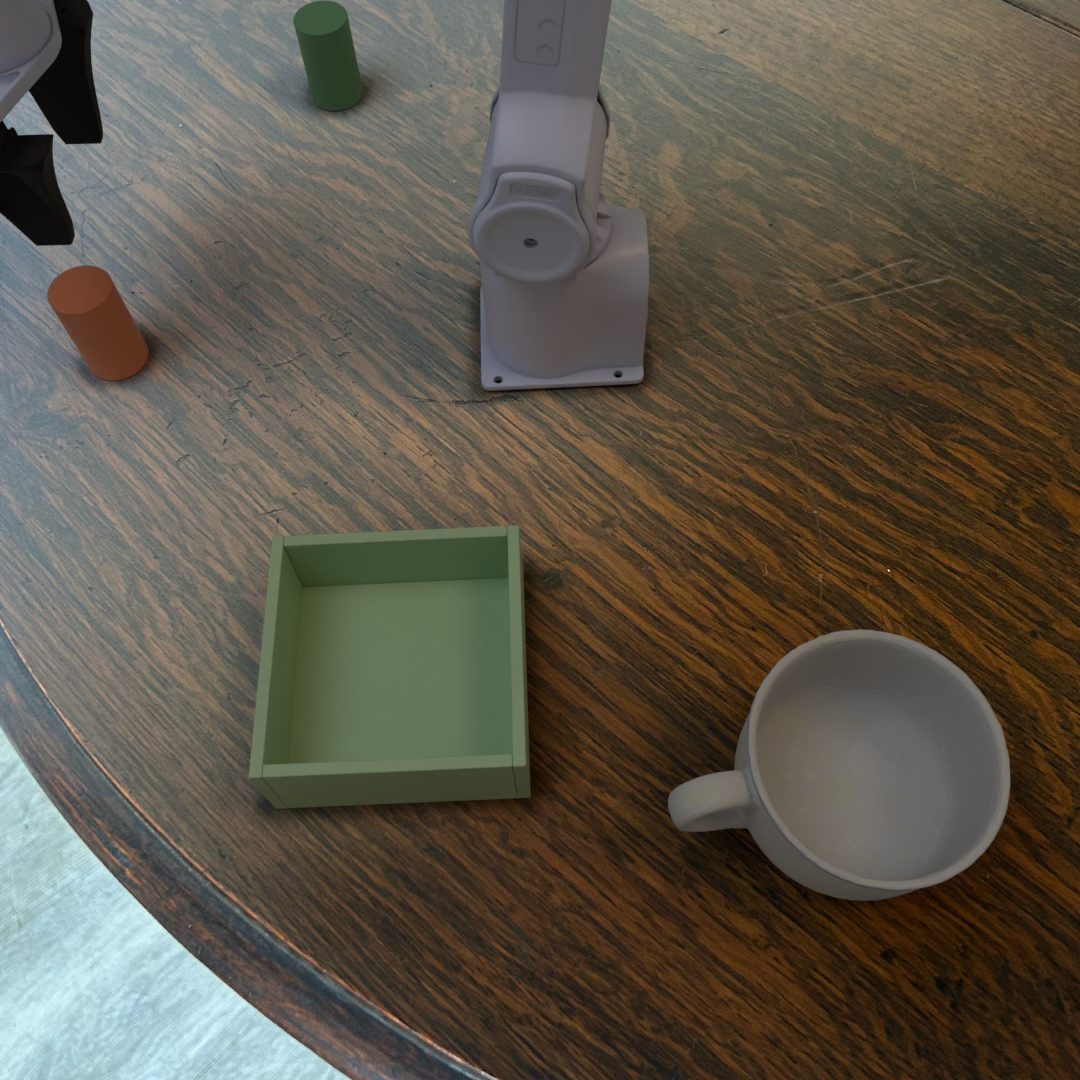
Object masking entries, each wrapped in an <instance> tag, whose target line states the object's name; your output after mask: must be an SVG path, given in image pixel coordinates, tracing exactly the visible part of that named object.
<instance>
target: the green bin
mask: <svg viewBox="0 0 1080 1080" xmlns="http://www.w3.org/2000/svg"><path fill="white" fill-rule="evenodd" d="M523 564H524V563H523V552H522V541H521V530H520V525H518V524H513V525H512V524H511V525H494V526H493V525H490V526H472V527H471V526H470V527H467V526H466V527H449V528H448V527H445V528H426V529H425V528H424V529H406V530H404V529H403V530H383V531H382V530H381V531H362V532H361V531H359V532H358V531H357V532H339V533H318V534H317V533H316V534H313V533H312V534H296V535H294V534H293V535H292V534H291V535H273V536H272V537H271V546H270V555H269V566H268V575H267V583H266V596H265V605H264V616H263V626H262V636H261V647H260V655H259V657H260V658H259V665H258V666H259V667H258V677H257V684H256V685H257V686H256V697H255V707H254V716H253V726H252V727H253V728H252V737H251V747H250V755H249V756H250V758H249V767H248V779H249V780H250V781H251V782H252V784H253V785H254V786H255V787H256V788H257V789H258V790H259V791H260V793H261V794H262V795H263V796H264V797H265V799H267V801H268V802H269V803H270V804H271V805H272V806H273V807H274V809H276V810H280V809H281V810H282V809H301V808H302V809H306V808H327V807H328V808H329V807H349V806H350V807H351V806H352V807H353V806H371V805H373V806H374V805H396V804H399V805H400V804H419V803H420V804H421V803H442V802H443V803H444V802H464V801H486V800H487V801H488V800H511V799H530V798H531V797H532V796H531V794H532V793H531V765H530V763H531V761H530V735H529V730H530V729H529V704H528V703H529V702H528V701H529V699H528V673H527V670H528V669H527V640H526V638H527V637H526V609H525V580H524V579H525V578H524V565H523Z"/></svg>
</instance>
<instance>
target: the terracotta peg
mask: <svg viewBox="0 0 1080 1080" xmlns="http://www.w3.org/2000/svg"><path fill="white" fill-rule="evenodd" d="M46 297H47V302H48V304H49V306H50V307H51V309H52V311H53V312H54V314H55V316H56V317H57V319H58V320H59V322H60V323H61V325H62V327H63V328H64V330H65V332H66V333H67V334H68V336H69V338H70V339H71V341H72V342H73V344H74V346H75V347H76V349H77V351H78V352H79V354H80V355H81V357H82V359H83V360H84V361H85V363H86V365H87V366H88V369H90V371H91V373H92V374H93V375H94V376H95V377H97V378H99V379H101V380H104V381H109V382H115V381H122V380H126V379H129V378H131V377H133V376H135V375H136V374H137V373H139V371H141V370H142V369H143V367H144V366H145V365H146V363H147V361H148V360H149V359H148V358H149V353H150V352H149V347H148V344H147V342H146V341H145V339H144V337H143V335H142V333H141V331H140V329H139V327H138V325H137V324H136V322H135V320H134V318H133V315H132V314H131V312H130V311H129V309H128V307H127V305H126V303H125V301H124V299H123V298H122V295H121V294H120V291H119V290H118V288H117V286H116V284H115V282H114V281H113V278H112V276H111V275H110V274H109V272H108V271H106V270H105V269H103V268H101V267H99V266H95V265H90V264H89V265H86V264H84V265H78V266H74V267H71V268H68V269H66V270H64V271H62V272H61V273H60V274H58V275H57V276H56V277H55V278H54V279H53V280H52V281H51V283H50V285H49V286H48V288H47V292H46Z"/></svg>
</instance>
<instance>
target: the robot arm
mask: <svg viewBox="0 0 1080 1080" xmlns="http://www.w3.org/2000/svg"><path fill="white" fill-rule="evenodd" d="M612 1H613V0H503V16H502V33H501V34H502V37H501V50H500V51H501V53H500V70H499V71H500V72H499V85H498V87H497V89H496V90H495V92H494V93H493V96H492V100H491V103H490V110H489V111H490V112H489V125H490V126H489V131H488V136H487V141H486V146H485V150H484V151H485V152H484V157H483V162H482V167H481V172H480V176H479V182H478V188H477V193H476V198H475V203H474V205H473V206H472V208H471V210H470V212H469V216H468V222H467V230H466V231H467V237H468V242H469V244H470V246H471V249H472V251H473V252H474V253H475V255H476V257H477V258H478V262H479V270H480V271H479V272H480V280H481V287H480V289H479V299H480V300H479V302H480V305H479V306H480V307H479V308H480V309H479V310H480V312H479V313H480V382H481V387H482V388H483V389H484V390H485V391H490V392H491V391H511V390H513V391H514V390H534V389H553V388H554V389H555V388H556V389H557V388H577V387H579V388H580V387H596V386H597V387H598V386H618V385H619V386H620V385H637V384H640V383H642V381H644V376H645V372H644V359H645V358H644V357H645V344H646V333H647V322H648V320H649V319H648V318H649V294H650V254H649V252H650V251H649V237H648V226H647V220H646V214H645V211H644V210H643V209H640V208H631V207H624V206H621V205H616V204H615V205H614V204H613V203H609V202H607V200H606V196H605V193H604V192H603V189H602V187H601V185H602V176H603V167H604V159H605V151H606V150H605V149H606V142H607V140H608V139H609V138H608V137H609V134H610V127H611V112H610V108H609V104H608V102H607V99H606V97H605V95H604V92H603V90H602V86H601V74H602V69H603V61H604V56H605V55H604V54H605V47H606V42H607V36H608V35H607V34H608V27H609V21H610V14H611V7H612ZM93 20H94V12H93V9H92V7H91V5H90V2H89V1H88V0H0V214H1V215H2V216H3V217H4V218H5V219H7V221H8V222H10V223H11V224H12V225H13V226H15V228H16V229H18V230H19V231H20V232H21V233H22V234H23V235H24V237H26V238H27V239H28V240H30V241H31V242H32V243H33V244H34V245H35V246H36V247H42V246H43V247H45V246H47V247H48V246H49V247H50V246H71V245H72V244H73V243H74V239H75V237H76V233H75V225H74V222H73V219H72V216H71V213H70V210H69V208H68V206H67V204H66V202H65V199H64V197H63V194H62V192H61V189H60V186H59V183H58V179H57V175H56V169H55V164H54V152H53V150H54V149H53V147H54V135H55V134H56V135H57V136H58V138H59V139H61V141H62V142H63V143H64V145H96V144H99V145H100V144H102V142H103V139H104V128H103V121H102V116H101V111H100V110H101V109H100V105H99V101H98V96H97V89H96V86H95V79H94V71H93V64H92V63H93V62H92V29H93ZM28 92H29V94H30V95H31V97H32V98H33V100H34V102H35V103H36V106H37V107H38V108H39V110H40V112H41V113H42V115H43V116H44V118H45V119H46V121H47V122H48V124H49V126H50V127H51V128H52V130H53V131H54V132H55V134H52V133H47V134H44V133H43V134H41V133H40V134H19V133H18V132H17V130H16V128H15V127H13V126H11V127H9V128H8V127H7V125H6V123H5V122H4V120H5V119H6V117H7V116H8V114H10V113H11V111H12V110H13V109H14V108H15V106H16V105H17V104H18V103H19V102H20V101H21V100H22V99H23V97H24V96H26V94H27V93H28ZM616 376H620V377H616ZM497 381H501V382H498V383H497Z"/></svg>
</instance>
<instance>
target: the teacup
mask: <svg viewBox="0 0 1080 1080" xmlns="http://www.w3.org/2000/svg"><path fill="white" fill-rule="evenodd" d="M735 749H736V751H735V756H734V767H733V770H727V771H726V770H725V771H719V772H713V773H709V774H704V775H700V776H698V777H695V778H693V779H690V780H687V781H685V782H683V783H682V784H679V785H678V786H676V787H675V788H674V789H673V790H672V791H671V792H670V793H669V795H668V798H667V810H668V812H669V815H670V818H671V821H672V822H673V824H674V825H675V827H676V828H677V829H679V830H680V831H683V832H686V833H702V832H703V833H704V832H711V831H712V832H713V831H721V830H728V829H739V830H740V829H746V830H748V831H749V834H750V835H751V837H752V838H753V840H754V841H755V843H756V844H757V846H758V847H759V849H760V850H761V851H762V854H764V855H765V856H766V858H767V859H768V860H769V861H770V862H771V863H772V864H773V865H774V866H775V867H776V868H778V869H779V870H780V872H782V873H784V874H785V875H786V876H787V877H789V878H790V879H792V880H793V881H794V882H796V883H798V884H800V885H801V886H803V887H806V888H807V889H810V890H812V891H814V892H816V893H819V894H822V895H825V896H828V897H833V898H836V899H840V900H847V901H858V902H859V901H861V902H866V901H869V902H870V901H871V902H872V901H881V900H886V899H891V898H896V897H899V896H903V895H907V894H909V893H912V892H914V891H918V890H920V889H926V888H928V887H929V888H930V887H932V886H937V885H940V884H943V883H945V882H946V881H948V880H950V879H952V878H955V877H956V876H958V875H959V874H961V873H963V872H964V871H965V870H967V869H968V868H969V867H971V866H972V865H973V864H974V863H976V862H977V860H978V859H979V858H980V857H982V856H983V855H984V853H986V851H987V850H988V849H989V847H990V845H991V844H992V843H993V841H994V840H995V838H996V837H997V834H998V833H999V831H1000V829H1001V827H1002V825H1003V822H1004V821H1005V820H1004V819H1005V817H1006V814H1007V811H1008V806H1009V801H1010V794H1011V793H1010V792H1011V784H1012V783H1011V782H1012V780H1011V767H1010V766H1011V763H1010V762H1011V761H1010V755H1009V750H1008V746H1007V741H1006V738H1005V734H1004V731H1003V728H1002V725H1001V724H1000V722H999V720H998V717H997V716H996V714H995V711H994V709H993V708H992V706H991V705H990V703H989V701H988V700H987V698H986V697H985V695H984V694H983V692H982V691H981V689H979V688H978V686H977V685H976V684H975V683H974V682H973V680H972V679H971V678H970V677H969V675H967V673H966V672H964V671H963V670H962V669H961V668H960V667H959V666H958V665H956V664H955V663H954V662H952V661H951V660H949V659H948V658H947V657H946V656H944V655H942V654H941V653H939V652H938V651H936V650H934V649H932V648H930V647H928V646H926V645H924V644H923V643H921V642H919V641H916V640H914V639H911V638H908V637H906V636H903V635H900V634H895V633H892V632H887V631H881V630H874V629H873V630H872V629H858V628H857V629H850V630H849V629H847V630H839V631H831V632H829V633H826V634H823V635H819V636H817V637H816V638H814V639H810V640H808V641H806V642H803V643H802V644H799V645H798V646H797V647H795V648H793V649H791V650H790V651H789V652H787V653H785V655H784V656H783V657H781V658H780V659H779V660H778V661H777V662H776V663H775V665H773V667H772V668H771V669H770V671H769V672H768V674H767V675H766V676H765V677H764V679H763V680H762V682H761V684H760V685H759V688H758V689H757V691H756V692H755V695H754V697H753V700H752V703H751V706H750V709H749V713H748V715H747V717H746V719H745V722H744V723H743V726H742V729H741V732H740V734H739V738H738V741H737V746H736V748H735Z"/></svg>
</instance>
